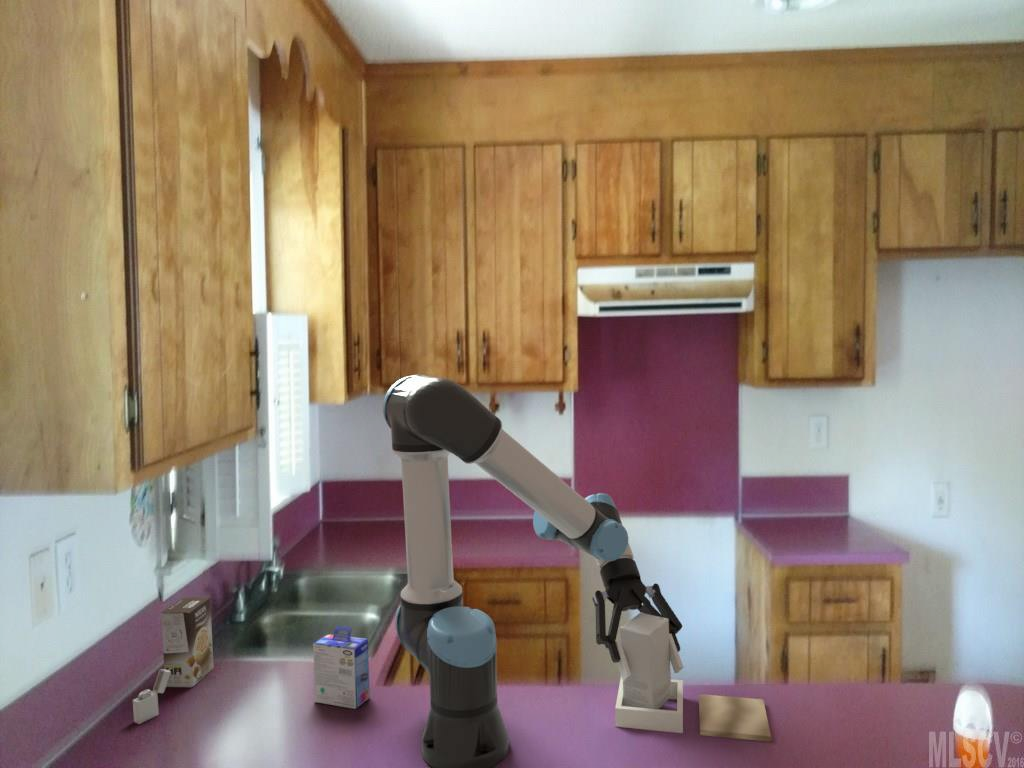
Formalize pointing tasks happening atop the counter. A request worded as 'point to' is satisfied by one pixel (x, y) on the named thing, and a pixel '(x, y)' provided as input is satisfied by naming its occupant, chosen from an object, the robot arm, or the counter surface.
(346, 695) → the ink cartridge box
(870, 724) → the counter surface
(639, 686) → the skincare box
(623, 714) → the holder collar
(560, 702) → the counter surface
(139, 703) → the lighter
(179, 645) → the coffee box
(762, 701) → the oak pad
